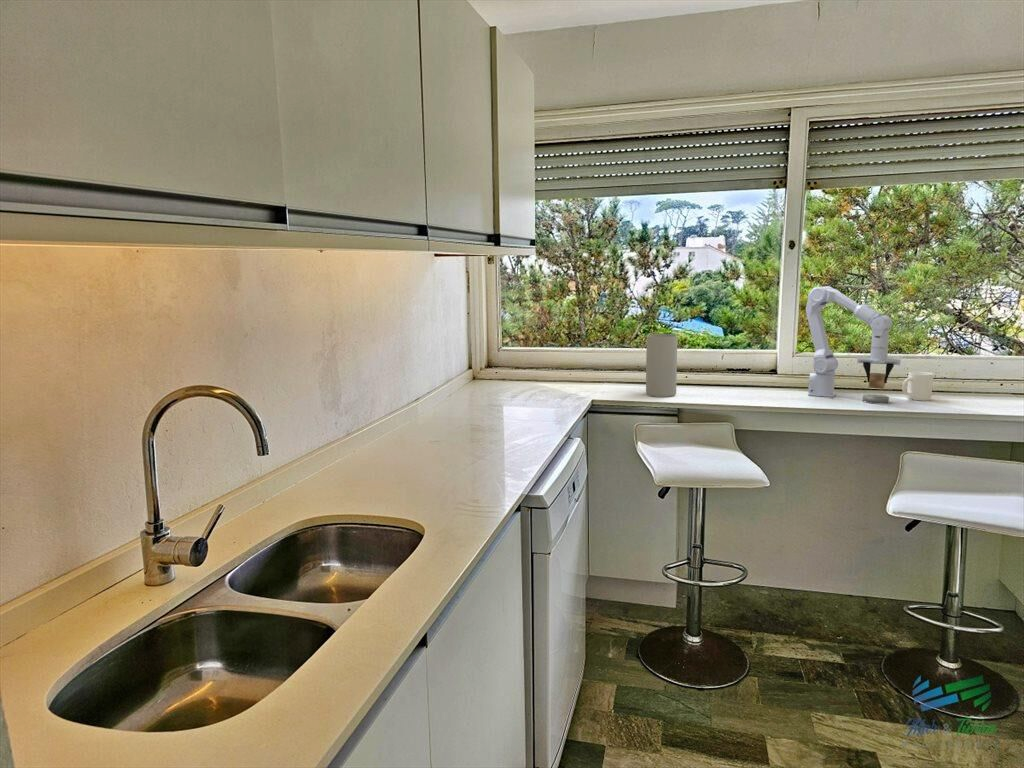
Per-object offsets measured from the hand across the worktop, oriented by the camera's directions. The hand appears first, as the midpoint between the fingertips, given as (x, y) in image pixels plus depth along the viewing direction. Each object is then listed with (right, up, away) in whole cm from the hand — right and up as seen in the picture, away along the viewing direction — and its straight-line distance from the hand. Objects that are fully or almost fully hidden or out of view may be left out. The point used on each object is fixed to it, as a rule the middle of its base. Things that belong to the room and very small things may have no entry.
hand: (877, 382), depth 261 cm
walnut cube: (0, -2, 0) cm, 2 cm away
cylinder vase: (-78, -5, +24) cm, 82 cm away
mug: (+17, -7, +4) cm, 19 cm away
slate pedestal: (0, -7, +1) cm, 8 cm away
